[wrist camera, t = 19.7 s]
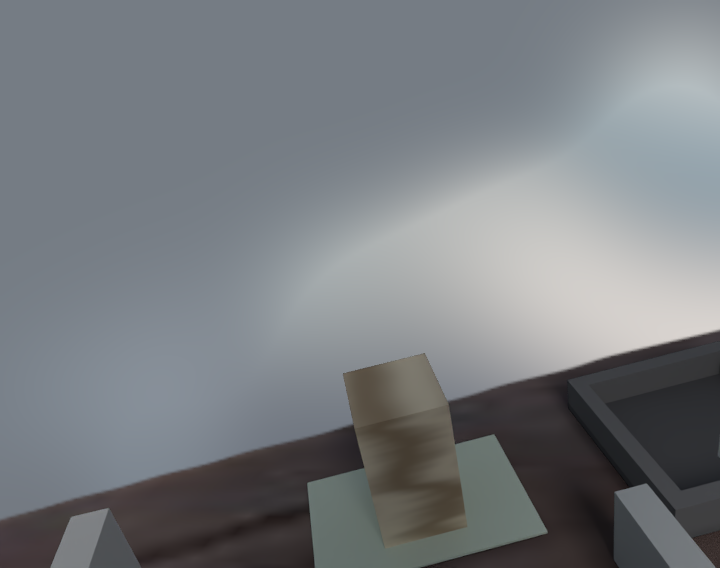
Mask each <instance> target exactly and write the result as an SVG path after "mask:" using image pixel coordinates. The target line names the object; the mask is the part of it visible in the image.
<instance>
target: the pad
mask: <svg viewBox="0 0 720 568" xmlns="http://www.w3.org/2000/svg"><path fill="white" fill-rule="evenodd" d="M455 448H456V455H457V461H458V468H459V475H460V481H461V488H462V494H463V501H464V507H465V514H466V520H467V527H465V528H461V529H458V530H454V531H450V532H446V533H442V534H439V535H435V536H431V537H427V538H423V539H420V540H416V541H412V542H408V543H405V544H401V545H397V546H393V547H389V548H386V549H385V547H384V543H383V539H382V535H381V531H380V527H379V523H378V519H377V515H376V511H375V507H374V504H373V500H372V496H371V492H370V488H369V484H368V480H367V476H366V472H365V468H363V469H359V470H355V471H351V472H347V473H343V474H339V475H336V476H332V477H328V478H324V479H320V480H316V481H313V482H309V483H307V485H308V496H309V507H310V518H311V529H312V540H313V551H314V562H315V568H421V567H425V566H429V565H432V564H436V563H440V562H443V561H447V560H451V559H454V558H458V557H462V556H465V555H469V554H473V553H476V552H480V551H484V550H488V549H491V548H495V547H499V546H502V545H506V544H510V543H513V542H517V541H521V540H524V539H528V538H532V537H536V536H539V535H543V534H547V533H548V532H547V529H546V528H545V526H544V524H543V522H542V520H541V519H540V517H539V515H538V513H537V511H536V509H535V508H534V506H533V504H532V502H531V500H530V499H529V497H528V495H527V493H526V491H525V489H524V488H523V486H522V484H521V482H520V480H519V478H518V477H517V475H516V473H515V471H514V469H513V468H512V466H511V464H510V462H509V460H508V458H507V457H506V455H505V453H504V451H503V449H502V448H501V446H500V444H499V442H498V440H497V438H496V437H495V435H494V434H493V435H489V436H486V437H482V438H478V439H474V440H470V441H466V442H462V443H459V444H455Z"/></svg>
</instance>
